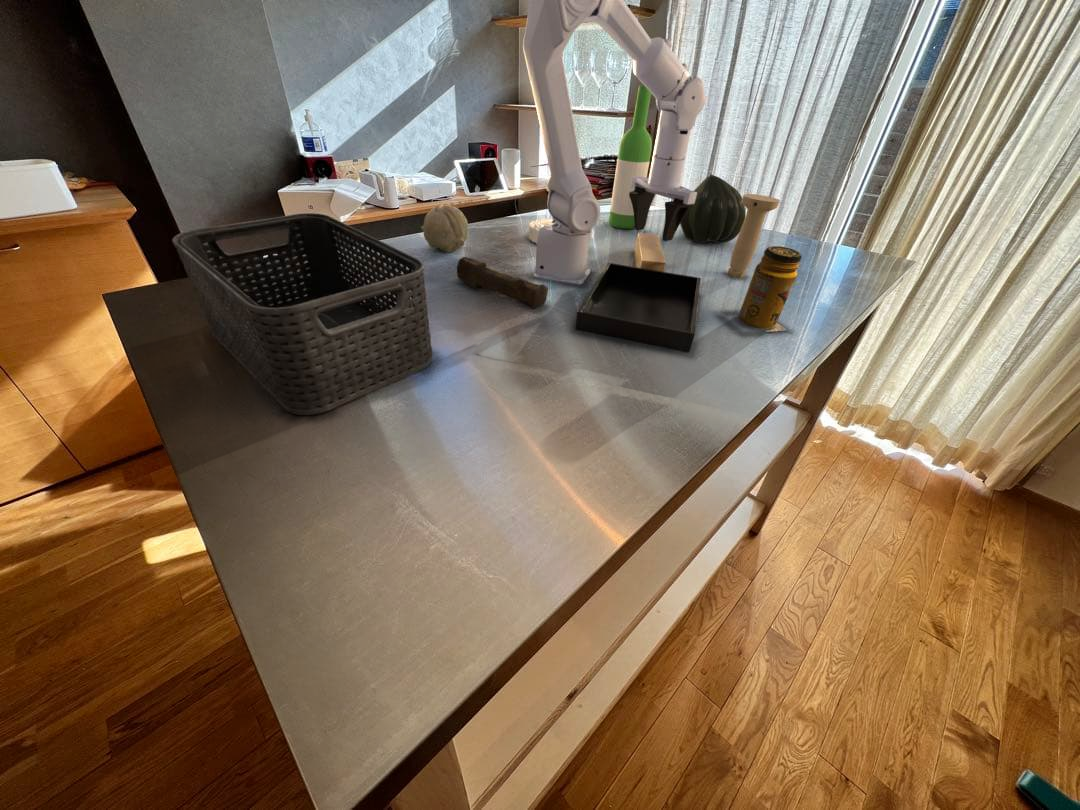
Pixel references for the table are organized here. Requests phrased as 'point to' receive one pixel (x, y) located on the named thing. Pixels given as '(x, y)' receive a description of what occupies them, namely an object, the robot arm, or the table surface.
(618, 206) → the wine bottle
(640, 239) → the stick
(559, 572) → the table surface
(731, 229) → the squash
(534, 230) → the mooncake
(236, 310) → the storage bin
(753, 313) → the condiment
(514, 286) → the hand tool
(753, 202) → the handle
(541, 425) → the table surface
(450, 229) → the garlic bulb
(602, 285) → the black tray
